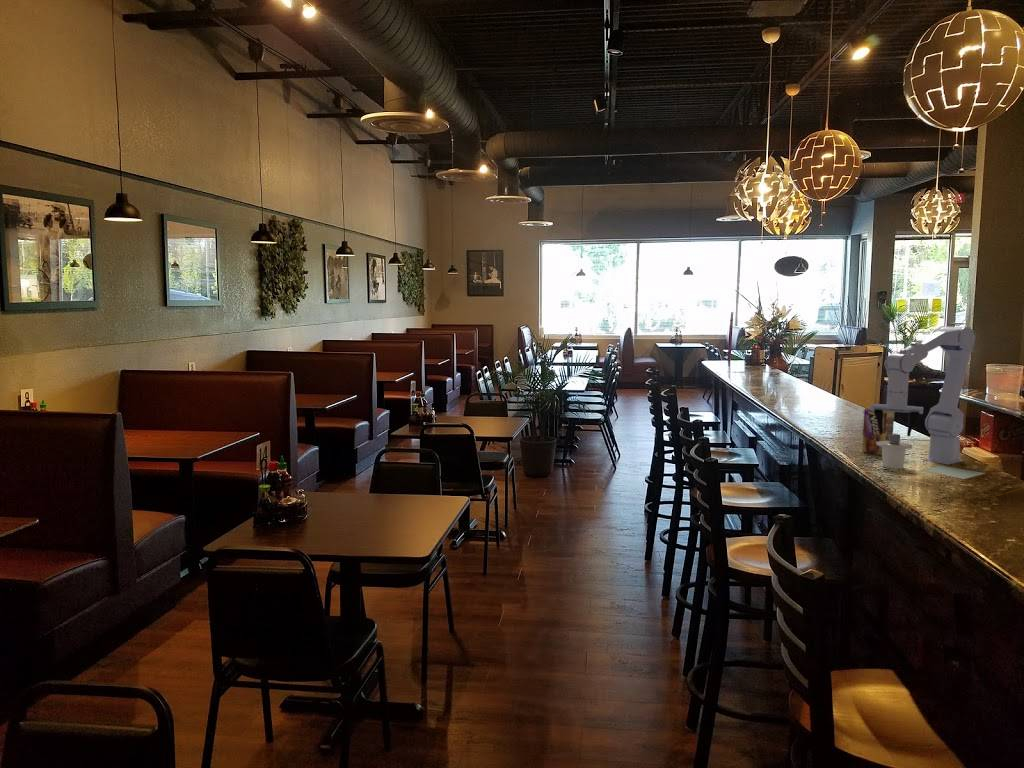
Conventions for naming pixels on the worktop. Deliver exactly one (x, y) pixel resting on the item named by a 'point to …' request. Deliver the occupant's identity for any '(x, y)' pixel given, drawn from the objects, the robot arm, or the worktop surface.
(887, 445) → the lid
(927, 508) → the worktop surface
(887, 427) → the candy box
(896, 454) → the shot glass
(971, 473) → the mat
